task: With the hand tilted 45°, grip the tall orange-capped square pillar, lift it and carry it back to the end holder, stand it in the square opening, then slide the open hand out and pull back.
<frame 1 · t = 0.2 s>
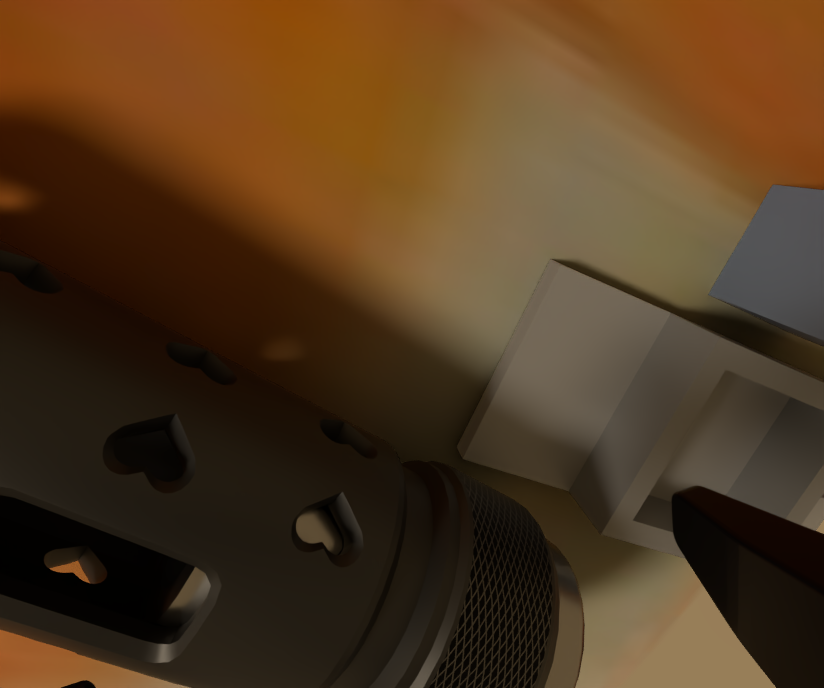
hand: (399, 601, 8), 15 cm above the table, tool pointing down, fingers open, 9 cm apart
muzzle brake: (195, 407, 23), on the table
orange-capped square pillar: (781, 262, 25), on the table
end holder: (682, 424, 27), on the table
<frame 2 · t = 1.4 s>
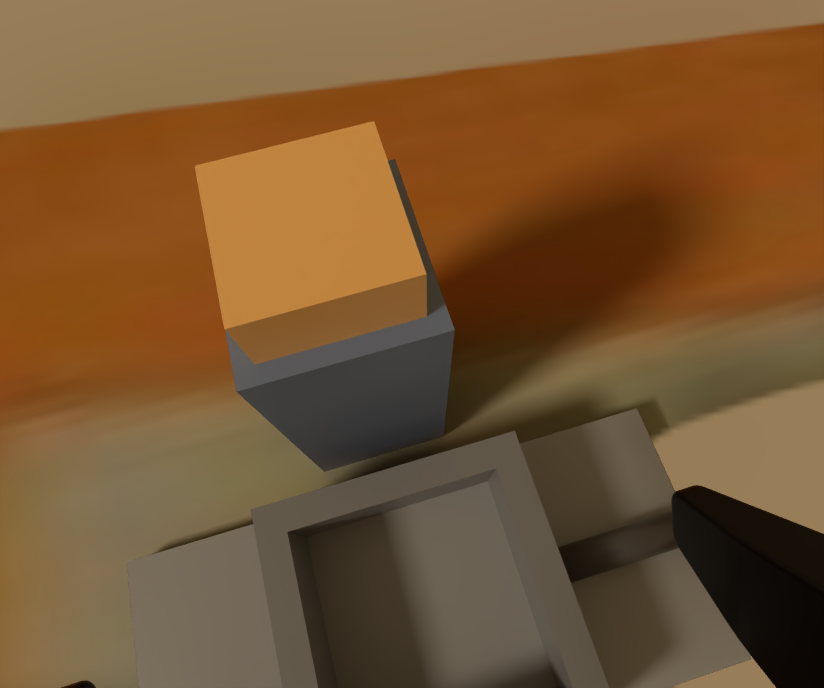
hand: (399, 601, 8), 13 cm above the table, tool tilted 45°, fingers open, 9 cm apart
orange-capped square pillar: (368, 396, 24), on the table
end holder: (425, 606, 21), on the table
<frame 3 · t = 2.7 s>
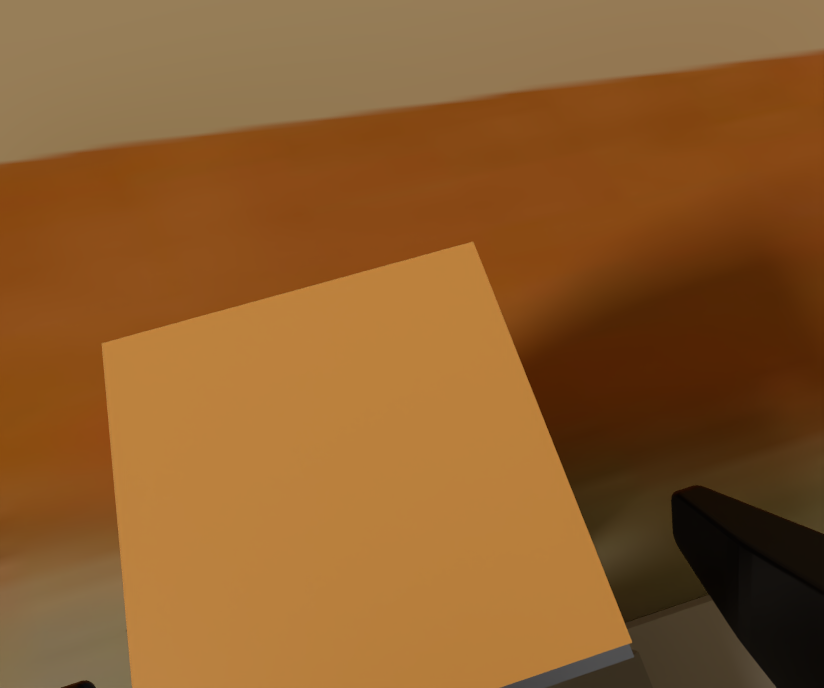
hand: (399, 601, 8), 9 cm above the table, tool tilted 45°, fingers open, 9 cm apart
orange-capped square pillar: (403, 545, 17), on the table
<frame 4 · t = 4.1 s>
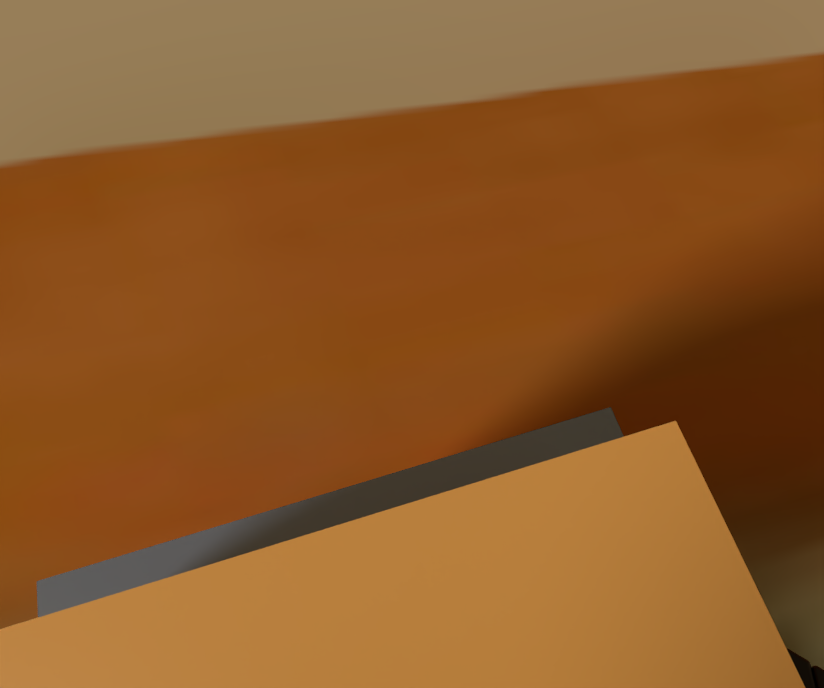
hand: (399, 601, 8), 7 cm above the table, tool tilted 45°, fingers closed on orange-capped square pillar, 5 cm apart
orange-capped square pillar: (427, 646, 14), on the table, touching gripper
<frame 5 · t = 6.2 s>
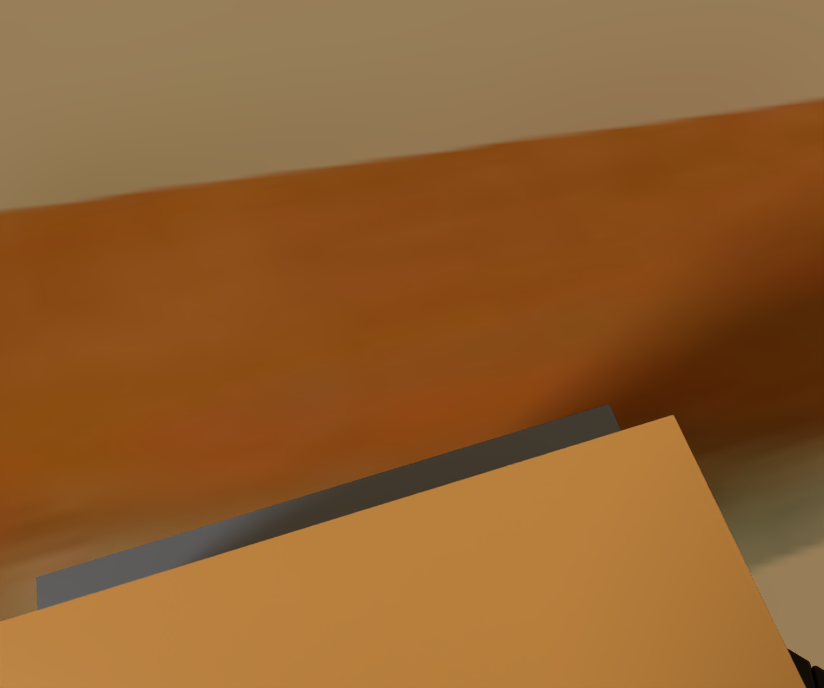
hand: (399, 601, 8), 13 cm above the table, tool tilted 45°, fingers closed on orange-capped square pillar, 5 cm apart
orange-capped square pillar: (427, 645, 14), point 7 cm above the table, touching gripper
when the fingers open (8 cm above the table, at t = 8.3 s): orange-capped square pillar stays where it is, resting on end holder.
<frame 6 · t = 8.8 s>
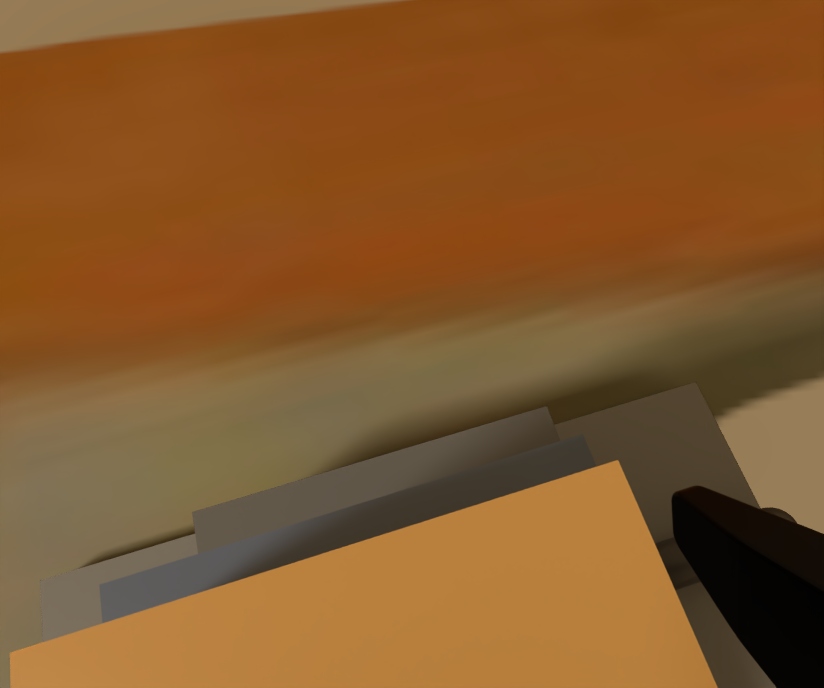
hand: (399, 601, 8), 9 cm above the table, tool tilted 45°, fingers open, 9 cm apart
orange-capped square pillar: (428, 642, 15), point 1 cm above the table, touching end holder
end holder: (428, 637, 16), on the table
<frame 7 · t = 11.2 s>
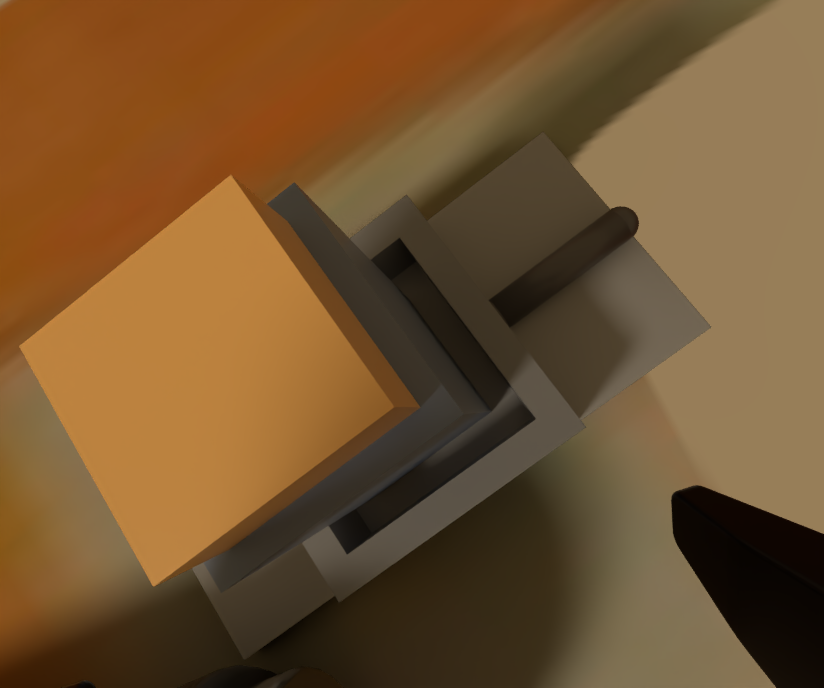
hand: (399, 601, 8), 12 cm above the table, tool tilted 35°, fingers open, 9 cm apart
orange-capped square pillar: (394, 395, 20), point 1 cm above the table, touching end holder
end holder: (399, 395, 21), on the table
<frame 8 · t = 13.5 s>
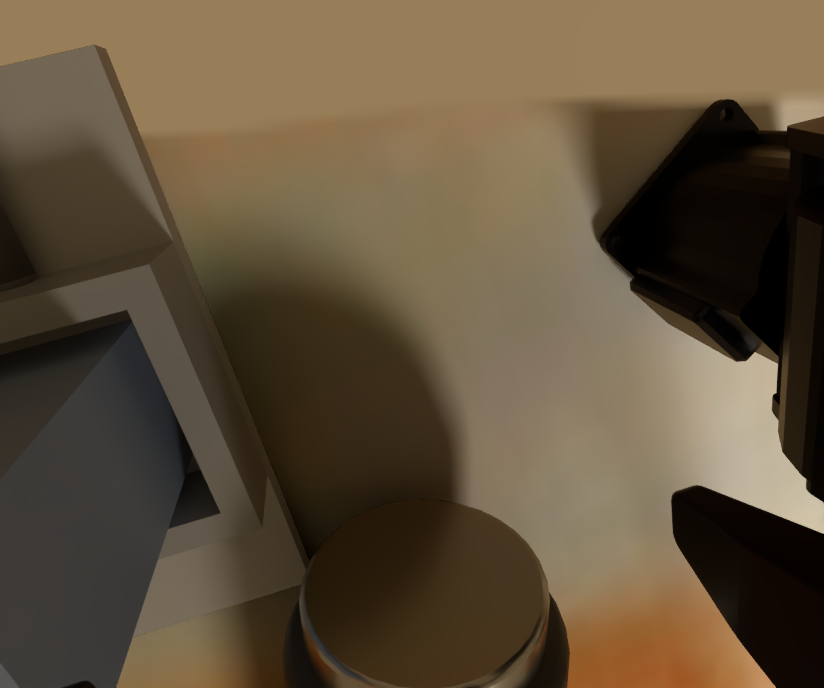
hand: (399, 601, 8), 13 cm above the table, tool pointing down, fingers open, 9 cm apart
orange-capped square pillar: (93, 406, 19), point 1 cm above the table, touching end holder
end holder: (101, 392, 20), on the table
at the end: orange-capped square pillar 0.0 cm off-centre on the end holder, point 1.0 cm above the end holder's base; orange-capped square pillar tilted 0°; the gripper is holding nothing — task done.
